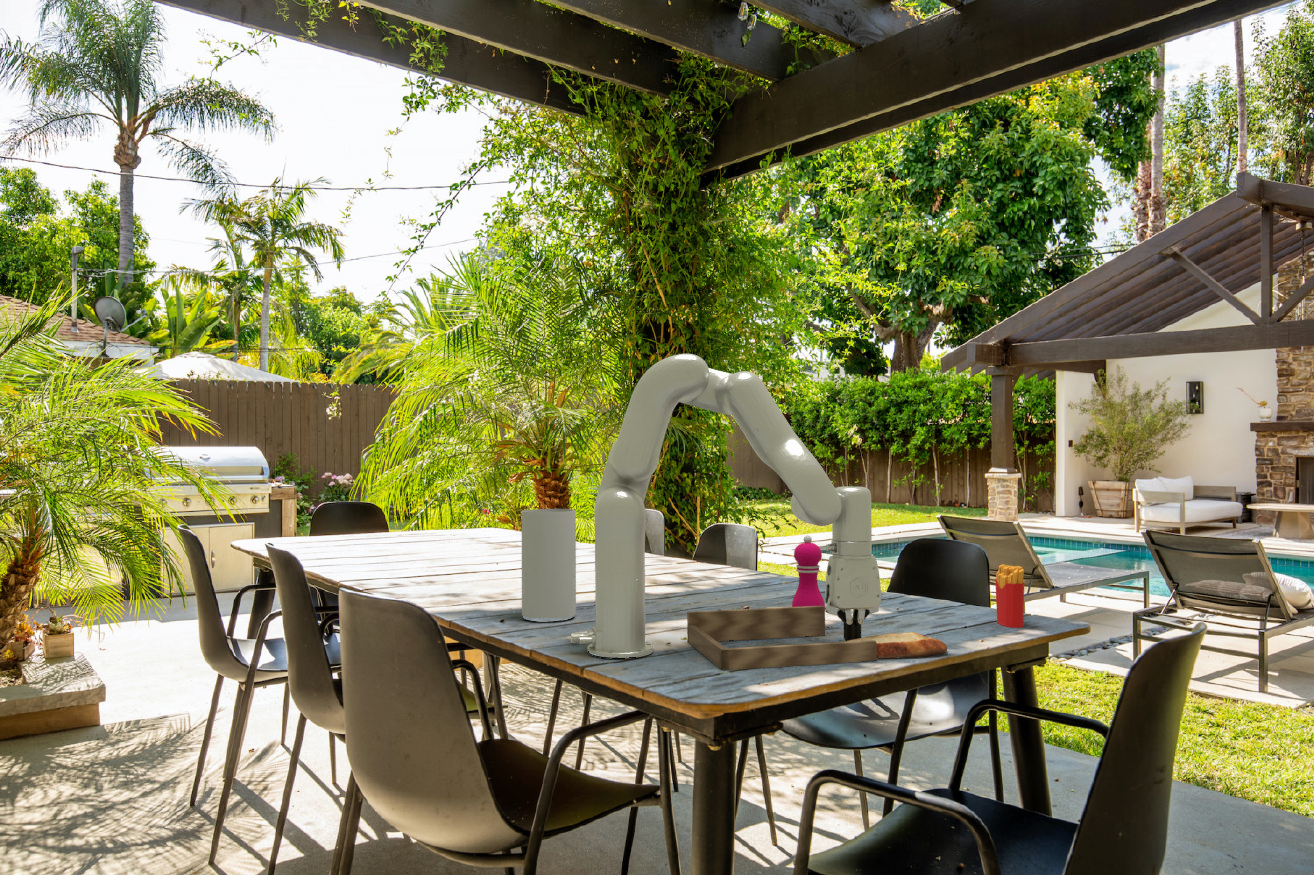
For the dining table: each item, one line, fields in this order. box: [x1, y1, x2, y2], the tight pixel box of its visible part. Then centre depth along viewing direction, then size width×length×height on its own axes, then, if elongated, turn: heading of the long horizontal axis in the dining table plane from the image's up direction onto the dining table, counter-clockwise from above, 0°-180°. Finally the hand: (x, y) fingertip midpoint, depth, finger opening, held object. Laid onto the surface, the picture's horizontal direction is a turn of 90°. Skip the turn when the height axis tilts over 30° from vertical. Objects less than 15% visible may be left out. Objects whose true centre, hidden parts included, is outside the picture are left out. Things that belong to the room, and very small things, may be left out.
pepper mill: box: [791, 535, 826, 607], centre depth 190 cm, size 7×7×20 cm
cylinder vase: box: [521, 508, 577, 619], centre depth 203 cm, size 12×12×25 cm
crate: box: [686, 605, 878, 671], centre depth 167 cm, size 29×24×6 cm
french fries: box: [994, 563, 1025, 629], centre depth 192 cm, size 9×4×13 cm, turn 2°
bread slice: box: [846, 631, 948, 659], centre depth 165 cm, size 18×18×4 cm
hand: (852, 643), depth 171 cm, fingers closed
